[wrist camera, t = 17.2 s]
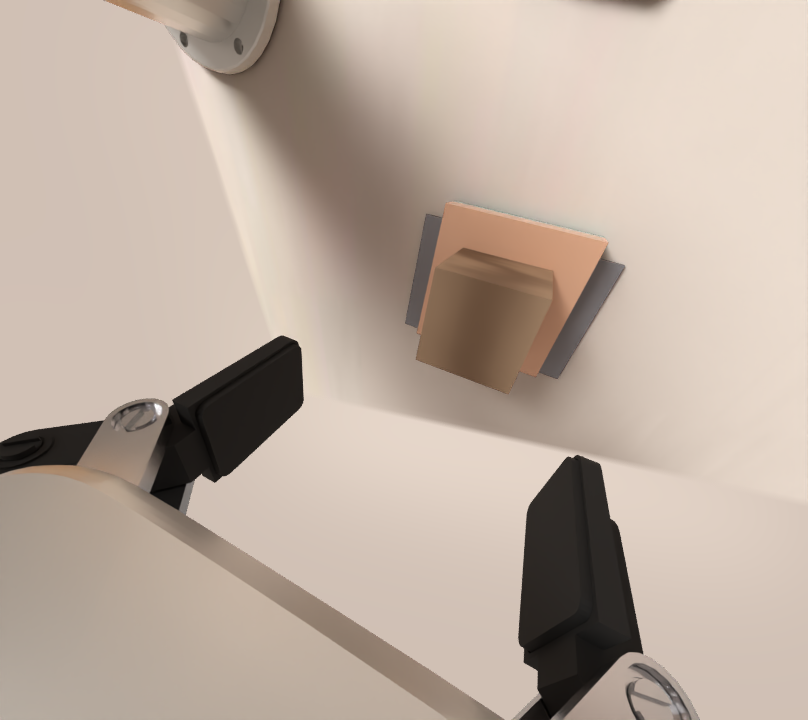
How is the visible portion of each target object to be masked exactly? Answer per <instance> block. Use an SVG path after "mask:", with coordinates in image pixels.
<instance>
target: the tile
mask: <svg viewBox="0 0 808 720" xmlns="http://www.w3.org/2000/svg"><path fill="white" fill-rule="evenodd" d="M607 245H608V241H607V240H606V239H605V238H604V237H603V236H598V235H594V234H590V233H586V232H582V231H578V230H574V229H569V228H565V227H561V226H557V225H553V224H549V223H545V222H540V221H536V220H532V219H528V218H524V217H520V216H516V215H511V214H507V213H503V212H499V211H495V210H491V209H487V208H482V207H478V206H474V205H470V204H466V203H462V202H458V201H453V202H448V203H446V204H445V209H444V213H443V218H442V222H441V227H440V231H439V236H438V240H437V245H436V249H435V254H434V258H433V263H432V267H431V272H430V276H429V281H428V285H427V290H426V294H425V299H424V303H423V308H422V312H421V317H420V321H419V326H418V330H417V334H420V335H421V332H422V328H423V323H424V318H425V313H426V309H427V304H428V299H429V295H430V290H431V285H432V280H433V276H434V271H435V267H436V266H438V265H439V264H441V263H442V262H443V261H445V260H446V259H448V258H449V257H450V256H452V255H453V254H455V253H456V252H458V251H459V250H460V249H462V248H467V249H471V250H475V251H478V252H482V253H486V254H490V255H494V256H498V257H502V258H505V259H509V260H513V261H517V262H521V263H525V264H528V265H532V266H536V267H540V268H544V269H548V270H552V271H553V296H552V302H551V304H550V307H549V309H548V311H547V313H546V315H545V317H544V319H543V322H542V324H541V326H540V328H539V330H538V332H537V334H536V337H535V339H534V341H533V343H532V345H531V347H530V349H529V352H528V354H527V356H526V358H525V360H524V362H523V364H522V367H521V369H520V372H523V373H526V374H528V375H531V376H534V377H536V376H537V374H538V372H539V370H540V368H541V367H542V365H543V363H544V361H545V359H546V357H547V356H548V354H549V352H550V350H551V348H552V346H553V344H554V343H555V341H556V339H557V337H558V335H559V333H560V332H561V330H562V328H563V326H564V324H565V322H566V320H567V319H568V317H569V315H570V313H571V311H572V309H573V307H574V306H575V304H576V302H577V300H578V298H579V296H580V295H581V293H582V291H583V289H584V287H585V285H586V283H587V282H588V280H589V278H590V276H591V274H592V272H593V271H594V269H595V267H596V265H597V263H598V261H599V259H600V258H601V256H602V254H603V252H604V250H605V248H606V246H607Z"/></svg>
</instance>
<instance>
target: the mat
mask: <svg viewBox="0 0 808 720" xmlns="http://www.w3.org/2000/svg"><path fill="white" fill-rule="evenodd" d="M441 222H442V218H441V217H437V216H433V215H429V214H426V218H425V223H424V228H423V234H422V239H421V244H420V249H419V254H418V260H417V265H416V270H415V275H414V280H413V285H412V291H411V296H410V301H409V306H408V311H407V317H406V322H405V324H408V325H411V326H413V327H416V328H418V326H419V321H420V317H421V312H422V308H423V303H424V299H425V294H426V290H427V285H428V281H429V276H430V272H431V267H432V263H433V258H434V254H435V249H436V245H437V240H438V236H439V231H440V227H441ZM624 267H625V265H622V264H618V263H614V262H611V261H607V260H603V259H599V261H598V263H597V265H596V267H595V269H594V271H593V272H592V274H591V276H590V278H589V280H588V282H587V283H586V285H585V287H584V289H583V291H582V293H581V295H580V296H579V298H578V300H577V302H576V304H575V306H574V307H573V309H572V311H571V313H570V315H569V317H568V319H567V320H566V322H565V324H564V326H563V328H562V330H561V332H560V333H559V335H558V337H557V339H556V341H555V343H554V344H553V346H552V348H551V350H550V352H549V354H548V356H547V357H546V359H545V361H544V363H543V365H542V367H541V368H540V370H539V373H542V374H545V375H548V376H550V377H553V378H556V379H558V377H559V376H560V374H561V372H562V371H563V369H564V367H565V366H566V364H567V362H568V361H569V359H570V357H571V356H572V354H573V352H574V351H575V349H576V347H577V346H578V344H579V342H580V341H581V339H582V337H583V336H584V334H585V332H586V331H587V329H588V327H589V325H590V324H591V322H592V320H593V319H594V317H595V315H596V314H597V312H598V310H599V309H600V307H601V305H602V304H603V302H604V300H605V299H606V297H607V295H608V294H609V292H610V290H611V289H612V287H613V285H614V284H615V282H616V280H617V279H618V277H619V275H620V274H621V272H622V270H623V269H624Z"/></svg>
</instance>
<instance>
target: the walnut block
mask: <svg viewBox="0 0 808 720" xmlns="http://www.w3.org/2000/svg"><path fill="white" fill-rule="evenodd" d="M552 296H553V271H552V270H548V269H544V268H540V267H536V266H532V265H528V264H525V263H521V262H517V261H513V260H509V259H505V258H502V257H498V256H494V255H490V254H486V253H482V252H478V251H475V250H471V249H467V248H462V249H460V250H459V251H458V252H456V253H455V254H453V255H452V256H450V257H449V258H448V259H446V260H445V261H443V262H442V263H441V264H439V265H438V266H436V267H435V271H434V276H433V280H432V285H431V290H430V295H429V299H428V304H427V309H426V313H425V318H424V323H423V328H422V332H421V337H420V342H419V346H418V351H417V356H416V360H418V361H421V362H424V363H426V364H429V365H432V366H434V367H437V368H440V369H442V370H445V371H448V372H450V373H453V374H456V375H458V376H461V377H463V378H466V379H469V380H471V381H474V382H477V383H479V384H482V385H485V386H487V387H490V388H493V389H495V390H498V391H501V392H503V393H506V394H509V392H510V390H511V388H512V386H513V384H514V382H515V379H516V377H517V375H518V373H519V371H520V369H521V367H522V364H523V362H524V360H525V358H526V356H527V354H528V352H529V349H530V347H531V345H532V343H533V341H534V339H535V337H536V334H537V332H538V330H539V328H540V326H541V324H542V322H543V319H544V317H545V315H546V313H547V311H548V309H549V307H550V304H551V302H552Z"/></svg>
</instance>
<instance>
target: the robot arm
mask: <svg viewBox="0 0 808 720" xmlns="http://www.w3.org/2000/svg"><path fill="white" fill-rule="evenodd" d="M105 1H107V2H109V3H112V4H114V5H117V6H119V7H122V8H124V9H127V10H129V11H132V12H134V13H137V14H139V15H142V16H144V17H147V18H149V19H152V20H154V21H157V22H159V23H162V24H164V25H165V26H166V28H167V30H168V32H169V33H170V35H171V36H172V37H173V39H174V40H175V41H176V43H177V44H178V45H179V47H180V48H181V49H182V50H183V51H184V52H185V53H186V54H187V55H188V56H189V57H190V58H191V59H192V60H194V61H195V62H197V63H198V64H200V65H201V66H203V67H205V68H208V69H210V70H213V71H216V72H219V73H225V74H235V73H240V72H242V71H244V70H246V69H247V68H249V67H251V66H252V65H253V64H254V63H255V62H256V60H257V59H258V58H259V57H260V56H261V54H262V53H263V51H264V49H265V47H266V46H267V44H268V42H269V40H270V37H271V34H272V31H273V28H274V25H275V22H276V18H277V13H278V8H279V3H280V0H105ZM172 401H173V403H174V405H172V406H170V407H168V405H167V403H165V402H164V401H162V400H158V399H140V400H135V401H132V402H129V403H126V404H124V405H122V406H120V407H118V408H117V409H115V410H114V411H112V412H111V413H110V414H109V415H108V416H107V417H106V419H105V420H104V421H97V422H90V423H82V424H75V425H67V426H60V427H53V428H45V429H38V430H33V431H28V432H24V433H22V434H19V435H16V436H13V437H11V438H9V439H7V440H4V441H2V442H1V443H0V720H504V719H503V718H501V717H500V716H498V715H497V714H495V713H494V712H492V711H491V710H489V709H488V708H486V707H485V706H483V705H482V704H480V703H479V702H477V701H476V700H474V699H473V698H471V697H470V696H468V695H467V694H465V693H464V692H462V691H461V690H459V689H458V688H456V687H455V686H453V685H452V684H450V683H449V682H447V681H446V680H444V679H443V678H441V677H440V676H438V675H437V674H435V673H434V672H432V671H431V670H429V669H428V668H426V667H424V666H423V665H421V664H420V663H418V662H417V661H415V660H413V659H412V658H410V657H409V656H407V655H406V654H404V653H402V652H401V651H399V650H398V649H396V648H394V647H393V646H392V645H390V644H388V643H387V642H385V641H383V640H382V639H380V638H379V637H378V636H376V635H374V634H373V633H371V632H369V631H368V630H367V629H365V628H363V627H362V626H360V625H359V624H357V623H356V622H354V621H352V620H351V619H349V618H348V617H346V616H345V615H343V614H342V613H340V612H338V611H337V610H335V609H334V608H332V607H331V606H329V605H327V604H326V603H324V602H323V601H321V600H319V599H318V598H316V597H315V596H313V595H311V594H310V593H308V592H307V591H305V590H304V589H302V588H301V587H299V586H297V585H296V584H294V583H293V582H291V581H289V580H288V579H286V578H285V577H283V576H281V575H280V574H278V573H277V572H275V571H274V570H272V569H270V568H269V567H267V566H266V565H264V564H262V563H261V562H259V561H258V560H256V559H255V558H253V557H252V556H250V555H248V554H247V553H245V552H244V551H242V550H240V549H239V548H237V547H236V546H234V545H232V544H231V543H229V542H228V541H226V540H224V539H223V538H221V537H219V536H218V535H216V534H215V533H213V532H212V531H210V530H208V529H207V528H205V527H204V526H202V525H200V524H199V523H197V522H196V521H194V520H192V519H191V518H189V517H188V516H186V512H187V508H188V504H189V500H190V496H191V493H192V488H193V485H194V481H195V479H196V478H197V477H198V476H199V475H201V474H202V475H203V476H204V477H206V478H208V479H209V480H211V481H213V482H214V483H215V482H217V481H218V480H219V479H220V478H221V477H222V476H227V475H228V474H230V473H231V472H232V471H233V470H234V469H235V468H236V467H238V466H239V465H240V464H241V463H242V462H243V461H244V460H245V459H246V458H247V457H248V456H249V455H250V454H251V453H253V452H254V451H255V450H256V449H257V448H258V447H259V446H260V445H261V444H262V443H263V442H264V441H265V440H266V439H267V438H268V437H270V436H271V435H272V434H273V433H274V432H275V431H276V430H277V429H278V428H279V427H280V426H281V425H283V424H284V423H285V422H286V421H287V420H288V419H289V418H290V417H291V416H292V415H293V414H294V413H295V412H297V411H298V410H299V409H300V407H301V406H302V404H303V401H304V397H303V375H302V354H301V348H300V347H299V344H298V342H297V341H295V340H293V339H290V338H288V337H285V336H279V337H277V338H275V339H274V340H272V341H270V342H269V343H267V344H265V345H264V346H262V347H260V348H259V349H257V350H255V351H254V352H252V353H250V354H249V355H247V356H245V357H244V358H242V359H240V360H239V361H237V362H235V363H233V364H232V365H230V366H228V367H227V368H225V369H223V370H222V371H220V372H218V373H217V374H215V375H214V376H212V377H210V378H208V379H207V380H205V381H203V382H202V383H200V384H198V385H196V386H195V387H193V388H192V389H190V390H188V391H186V392H185V393H183V394H181V395H180V396H178V397H176V398H175V399H173V400H172ZM518 638H519V644H520V646H521V647H523V648H524V663H525V664H527V665H529V666H531V667H533V668H534V669H536V670H537V671H538V687H537V689H538V691H539V694H538V695H537V696H536V697H535V698H534V699H533V700H532V701H530V703H528V704H527V705H526V706H525V707H524V708H523V709H522V710H521V711H520V712H519V713H518V714H517V715H516V716H515V717H514V718H513V719H512V720H700V719H699V717H698V715H697V713H696V711H695V709H694V707H693V705H692V703H691V701H690V699H689V698H688V696H687V695H686V693H685V692H684V690H683V689H682V688H681V686H680V685H679V683H678V682H677V681H676V680H675V679H674V678H673V677H672V676H671V674H670V673H669V672H668V671H667V670H666V669H665V668H664V667H662V666H661V665H660V664H658V663H657V662H656V661H654V660H653V659H652V658H650V657H648V656H646V655H643V650H642V645H641V640H640V635H639V629H638V624H637V619H636V614H635V609H634V604H633V598H632V593H631V588H630V583H629V578H628V573H627V567H626V562H625V557H624V552H623V547H622V542H621V537H620V532H619V529H618V526H617V524H616V523H615V522H614V521H613V520H611V519H610V515H609V509H608V503H607V498H606V492H605V486H604V480H603V475H602V470H601V466H600V464H599V463H597V462H594V461H592V460H589V459H587V458H584V457H582V456H579V455H576V456H575V457H574V458H571V457H567V458H566V459H565V460H564V461H563V463H562V464H561V465H560V466H559V468H558V469H557V470H556V472H555V473H554V474H553V475H552V477H551V478H550V479H549V480H548V482H547V483H546V484H545V486H544V487H543V488H542V489H541V491H540V492H539V493H538V494H537V496H536V497H535V498H534V500H533V501H532V502H531V504H530V505H529V508H528V511H527V519H526V533H525V547H524V562H523V578H522V591H521V605H520V620H519V636H518Z"/></svg>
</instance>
